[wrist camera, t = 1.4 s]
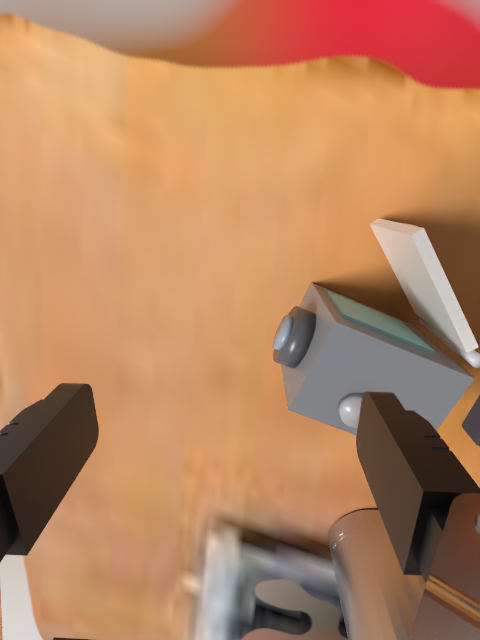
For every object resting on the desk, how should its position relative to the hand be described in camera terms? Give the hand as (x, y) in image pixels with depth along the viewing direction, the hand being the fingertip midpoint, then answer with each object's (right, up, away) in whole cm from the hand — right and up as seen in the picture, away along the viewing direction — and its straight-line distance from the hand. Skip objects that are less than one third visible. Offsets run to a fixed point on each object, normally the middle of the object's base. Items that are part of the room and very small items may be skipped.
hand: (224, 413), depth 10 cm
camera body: (+10, +2, +22) cm, 24 cm away
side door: (+14, +7, +19) cm, 24 cm away
